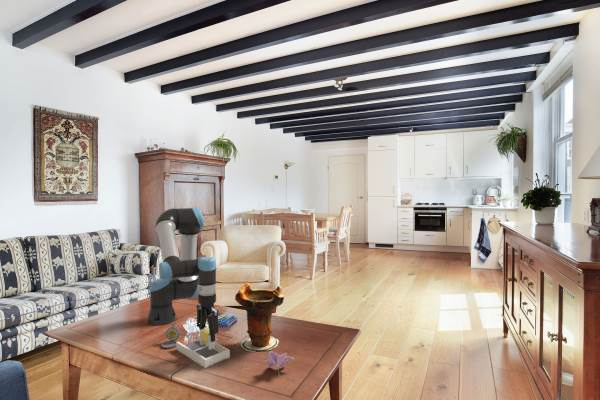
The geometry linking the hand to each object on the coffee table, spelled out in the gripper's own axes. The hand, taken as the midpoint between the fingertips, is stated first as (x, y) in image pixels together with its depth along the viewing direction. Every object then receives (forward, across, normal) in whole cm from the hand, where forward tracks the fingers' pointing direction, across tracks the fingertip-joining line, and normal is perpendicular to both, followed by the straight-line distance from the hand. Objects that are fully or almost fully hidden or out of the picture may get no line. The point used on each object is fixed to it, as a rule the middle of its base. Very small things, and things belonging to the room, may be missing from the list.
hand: (207, 346), depth 146 cm
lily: (+5, +32, +12) cm, 34 cm away
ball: (-2, 0, 0) cm, 2 cm away
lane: (+5, -4, 0) cm, 6 cm away
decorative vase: (+5, +7, +24) cm, 26 cm away
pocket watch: (+5, -23, -5) cm, 24 cm away
